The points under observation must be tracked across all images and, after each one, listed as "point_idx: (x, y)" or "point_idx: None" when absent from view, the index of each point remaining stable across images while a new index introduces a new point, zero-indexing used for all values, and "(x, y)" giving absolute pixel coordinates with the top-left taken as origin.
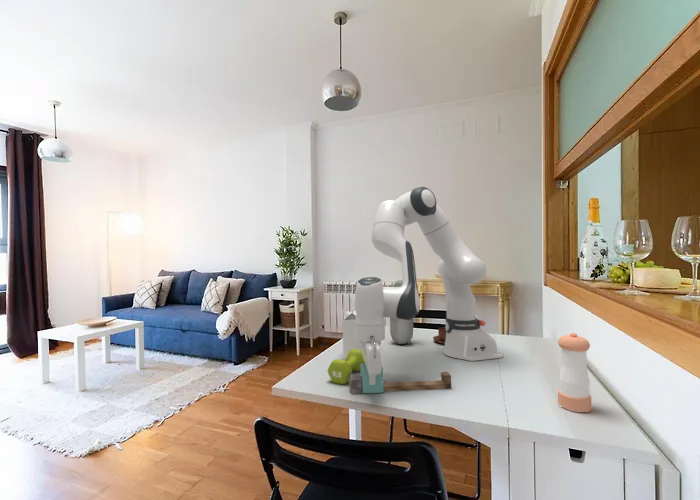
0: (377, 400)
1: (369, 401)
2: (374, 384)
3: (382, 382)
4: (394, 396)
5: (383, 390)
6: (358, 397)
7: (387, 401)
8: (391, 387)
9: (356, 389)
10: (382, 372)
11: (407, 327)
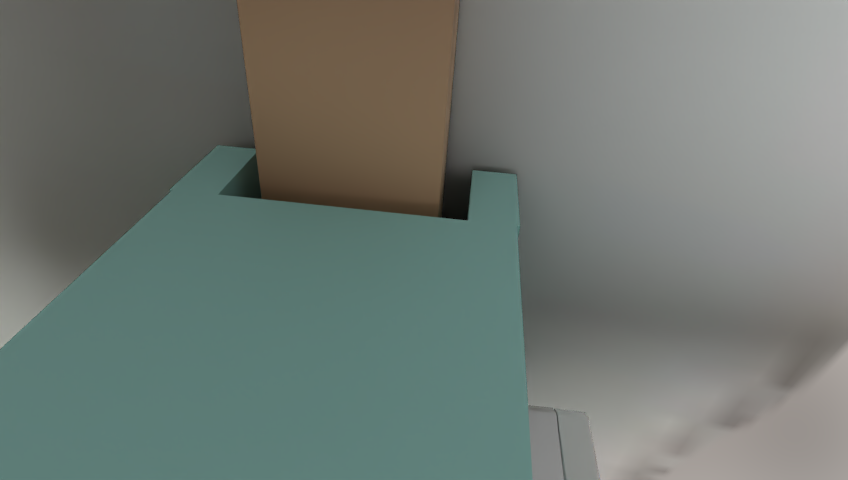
0: (723, 297)
1: (707, 376)
2: (584, 416)
3: (519, 280)
4: (699, 21)
5: (446, 156)
6: None
7: (828, 187)
8: (452, 25)
9: None
10: (522, 458)
11: None
